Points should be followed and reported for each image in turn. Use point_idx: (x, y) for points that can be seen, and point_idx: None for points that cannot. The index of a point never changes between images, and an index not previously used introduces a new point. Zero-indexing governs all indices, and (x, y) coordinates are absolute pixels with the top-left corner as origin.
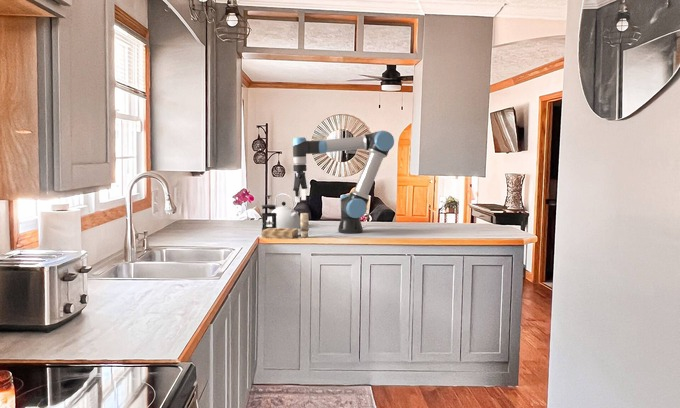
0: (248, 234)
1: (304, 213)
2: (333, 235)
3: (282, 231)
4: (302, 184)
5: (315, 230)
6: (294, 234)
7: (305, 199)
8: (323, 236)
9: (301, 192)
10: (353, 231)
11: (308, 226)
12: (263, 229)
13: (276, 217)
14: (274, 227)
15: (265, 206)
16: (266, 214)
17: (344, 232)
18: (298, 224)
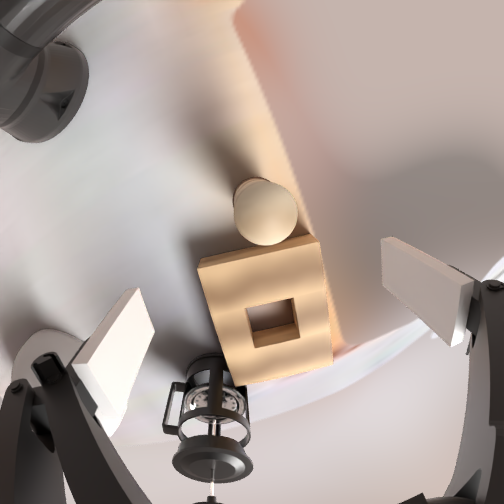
0: (260, 416)
1: (271, 210)
2: (150, 98)
3: (322, 287)
4: (115, 457)
5: (58, 248)
6: (267, 247)
7: (137, 293)
8: (194, 125)
9: (131, 381)
10: (80, 52)
11: (250, 180)
12: (244, 396)
13: (104, 420)
14: (222, 371)
15: (252, 465)
16: (249, 432)
17: (85, 85)
18: (51, 339)
